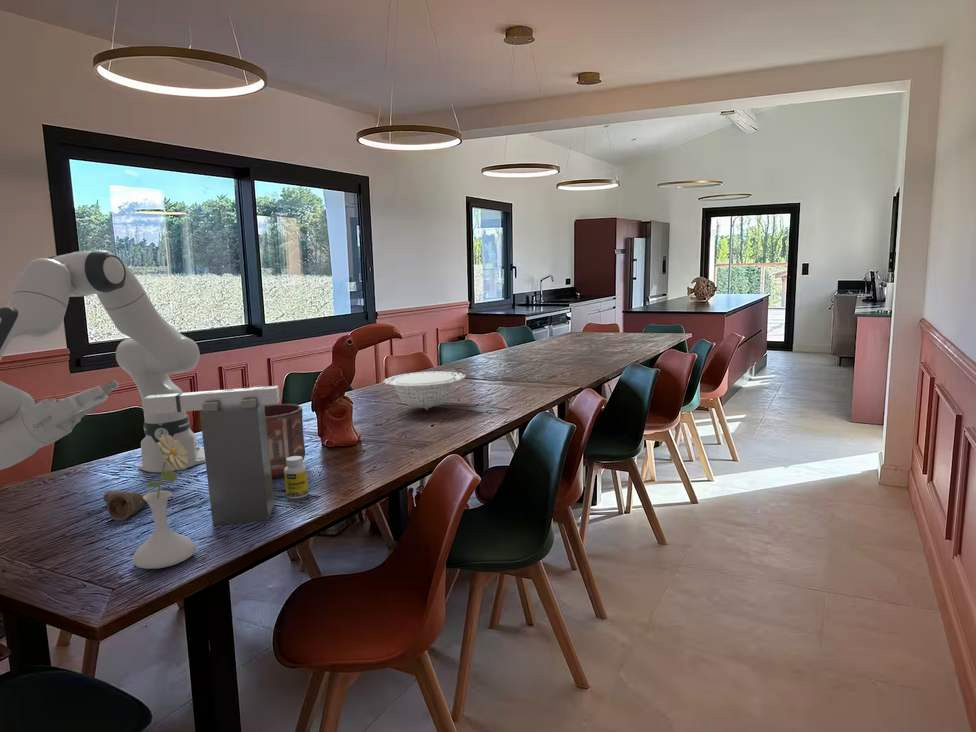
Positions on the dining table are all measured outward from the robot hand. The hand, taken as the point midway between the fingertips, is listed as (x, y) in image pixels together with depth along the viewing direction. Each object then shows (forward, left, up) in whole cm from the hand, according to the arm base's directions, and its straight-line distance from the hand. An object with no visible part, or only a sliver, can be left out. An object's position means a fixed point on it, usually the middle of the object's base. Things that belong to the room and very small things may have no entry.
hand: (109, 385), depth 145 cm
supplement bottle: (-9, +36, -33) cm, 50 cm away
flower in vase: (+22, +14, -33) cm, 42 cm away
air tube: (+1, +21, -7) cm, 22 cm away
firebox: (+1, +25, -33) cm, 41 cm away
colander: (-96, +77, -33) cm, 128 cm away
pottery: (-31, +28, -33) cm, 54 cm away
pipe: (-13, -6, -33) cm, 36 cm away
